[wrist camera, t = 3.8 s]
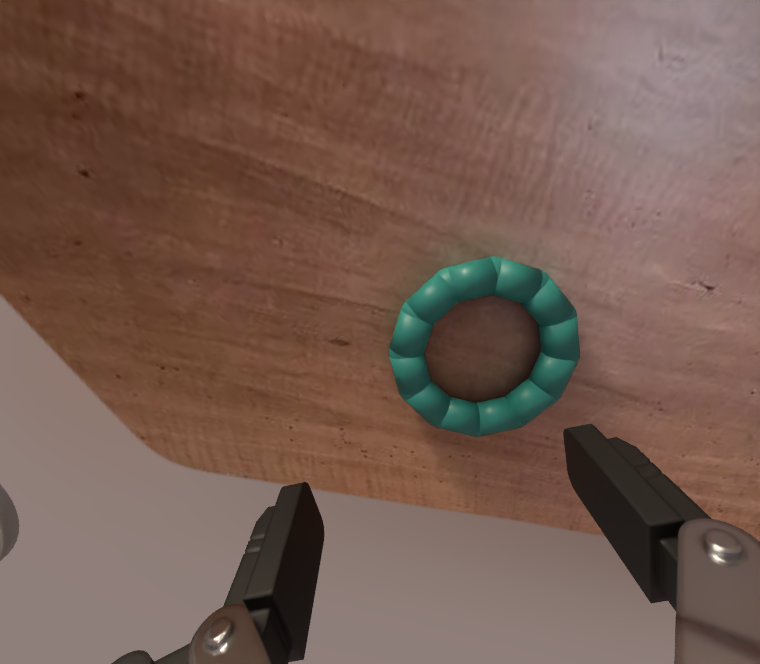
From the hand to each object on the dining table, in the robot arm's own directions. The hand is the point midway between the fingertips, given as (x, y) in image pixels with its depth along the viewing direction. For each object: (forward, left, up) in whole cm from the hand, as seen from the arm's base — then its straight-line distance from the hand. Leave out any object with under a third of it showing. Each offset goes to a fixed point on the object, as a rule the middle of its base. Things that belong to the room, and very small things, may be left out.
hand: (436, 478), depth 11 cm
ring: (+4, 0, -9) cm, 9 cm away
